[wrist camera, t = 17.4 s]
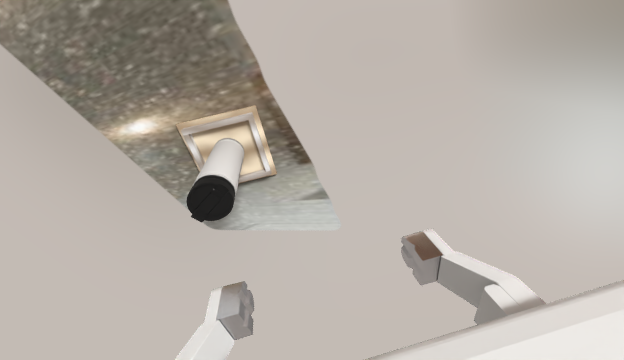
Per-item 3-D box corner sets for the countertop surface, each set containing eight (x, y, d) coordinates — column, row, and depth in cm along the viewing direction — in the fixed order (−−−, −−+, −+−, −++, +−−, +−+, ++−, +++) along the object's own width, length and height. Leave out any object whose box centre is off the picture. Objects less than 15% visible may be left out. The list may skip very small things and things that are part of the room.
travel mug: (206, 153, 48) (174, 210, 31) (225, 131, 47) (202, 177, 29) (232, 170, 51) (214, 230, 34) (250, 150, 49) (242, 202, 32)
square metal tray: (176, 123, 45) (172, 126, 43) (255, 105, 46) (255, 107, 44) (210, 189, 53) (208, 194, 51) (276, 172, 54) (277, 177, 52)
